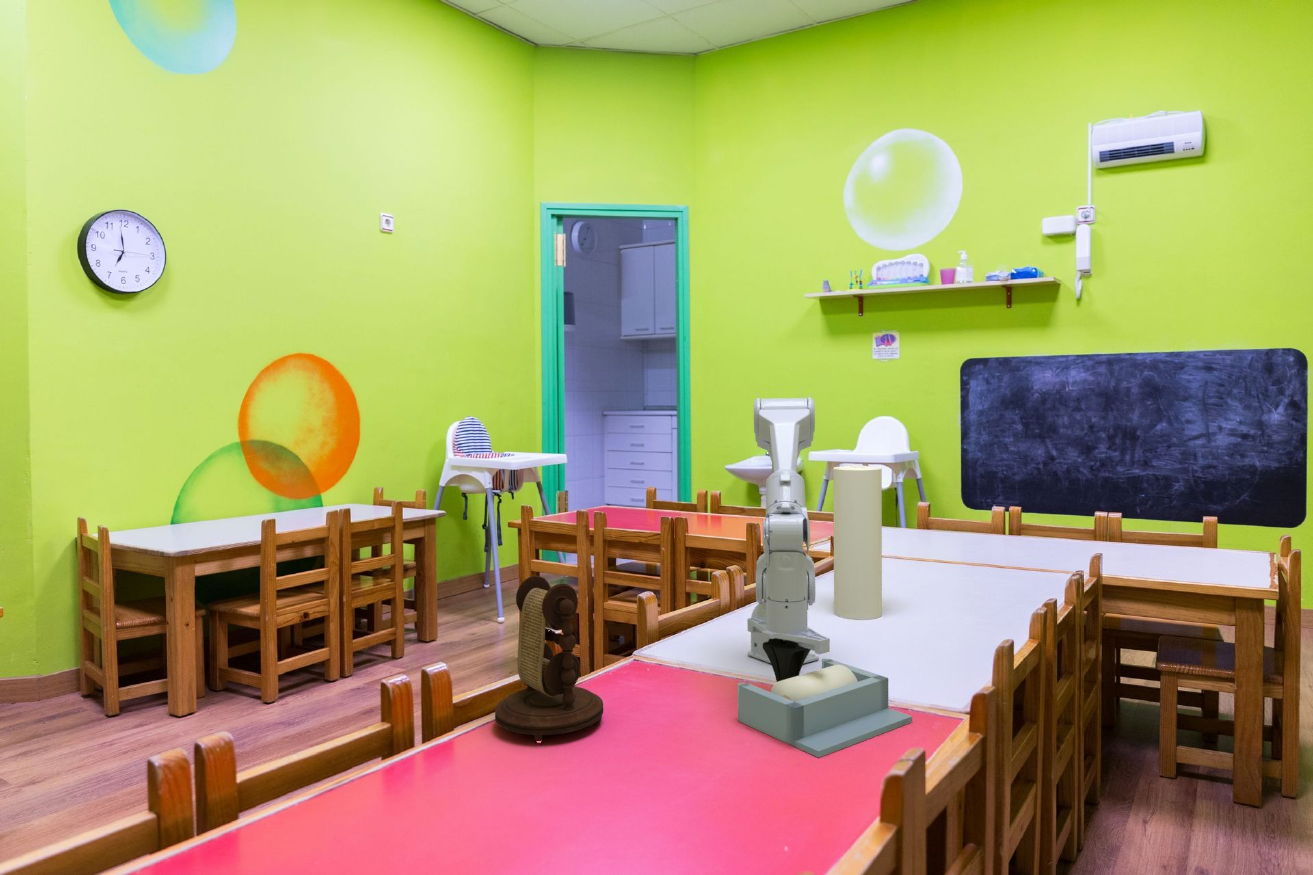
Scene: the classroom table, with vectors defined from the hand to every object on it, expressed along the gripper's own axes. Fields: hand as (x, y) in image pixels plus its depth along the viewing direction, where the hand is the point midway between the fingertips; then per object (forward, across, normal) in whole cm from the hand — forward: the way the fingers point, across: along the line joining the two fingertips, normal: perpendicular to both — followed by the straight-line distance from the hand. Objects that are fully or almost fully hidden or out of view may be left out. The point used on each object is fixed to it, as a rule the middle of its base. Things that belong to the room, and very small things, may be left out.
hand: (787, 691), depth 121 cm
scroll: (+2, -16, -30) cm, 34 cm away
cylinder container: (+2, -27, +47) cm, 54 cm away
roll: (-1, +6, 0) cm, 6 cm away
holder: (+2, +7, 0) cm, 7 cm away
